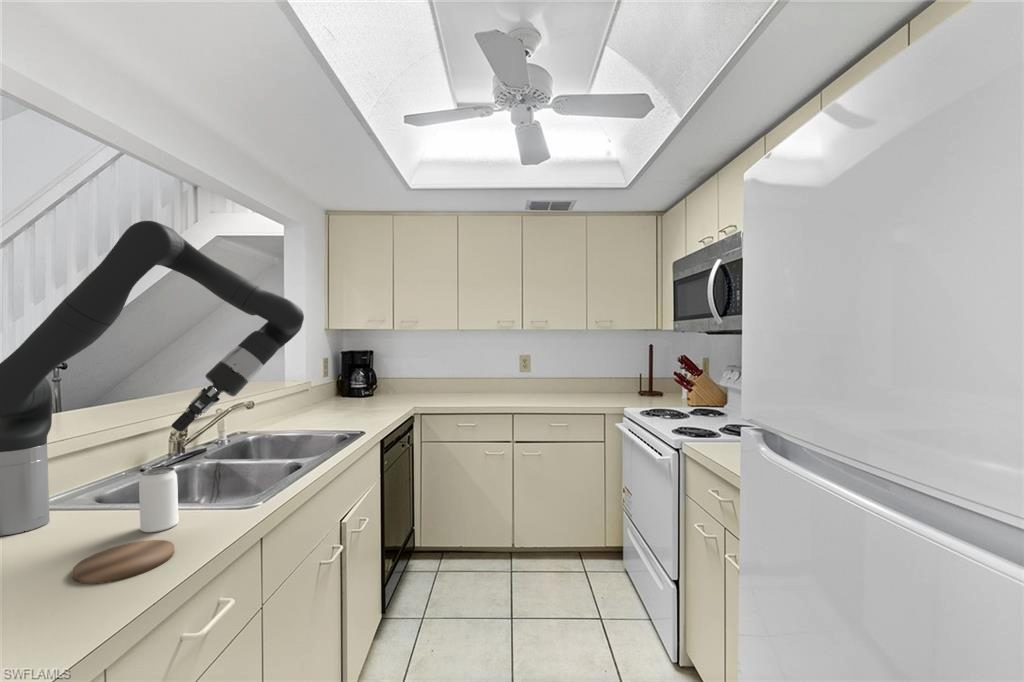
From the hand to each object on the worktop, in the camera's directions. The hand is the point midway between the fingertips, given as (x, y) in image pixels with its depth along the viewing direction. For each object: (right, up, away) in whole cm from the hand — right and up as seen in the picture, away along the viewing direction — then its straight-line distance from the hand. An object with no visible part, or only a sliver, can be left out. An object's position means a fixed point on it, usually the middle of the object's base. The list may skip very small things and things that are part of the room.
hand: (176, 429), depth 99 cm
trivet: (+2, -21, -15) cm, 26 cm away
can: (-4, -21, 0) cm, 21 cm away
